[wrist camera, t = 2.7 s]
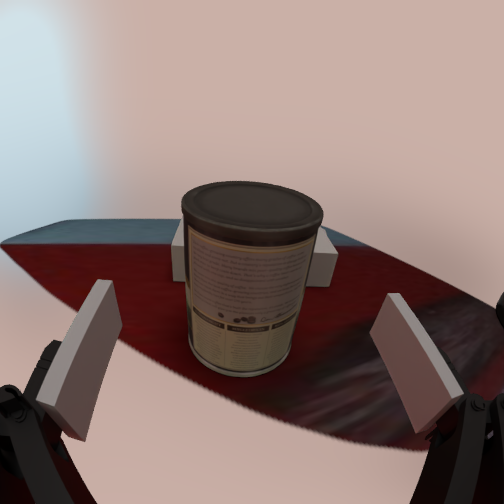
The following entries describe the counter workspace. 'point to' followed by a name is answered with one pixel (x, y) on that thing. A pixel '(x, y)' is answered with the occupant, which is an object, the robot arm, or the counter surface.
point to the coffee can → (246, 272)
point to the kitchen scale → (318, 271)
